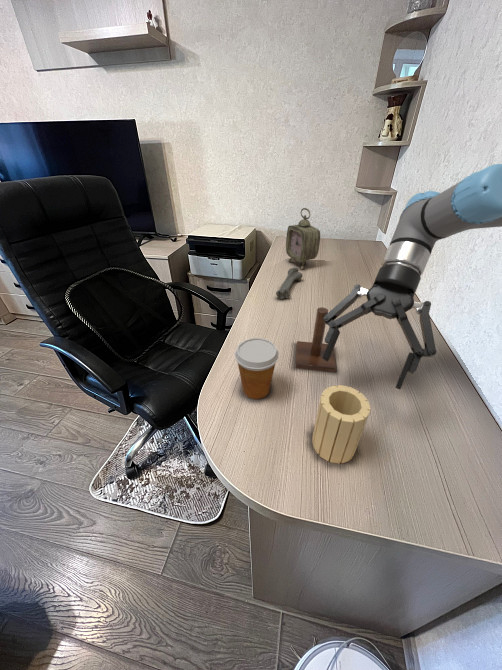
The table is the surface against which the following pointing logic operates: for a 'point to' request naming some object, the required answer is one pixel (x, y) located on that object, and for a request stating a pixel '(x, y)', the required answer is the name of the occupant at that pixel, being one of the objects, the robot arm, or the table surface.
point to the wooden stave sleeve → (339, 423)
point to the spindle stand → (315, 348)
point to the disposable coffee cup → (256, 366)
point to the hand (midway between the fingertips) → (359, 373)
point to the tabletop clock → (302, 241)
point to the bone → (288, 283)
